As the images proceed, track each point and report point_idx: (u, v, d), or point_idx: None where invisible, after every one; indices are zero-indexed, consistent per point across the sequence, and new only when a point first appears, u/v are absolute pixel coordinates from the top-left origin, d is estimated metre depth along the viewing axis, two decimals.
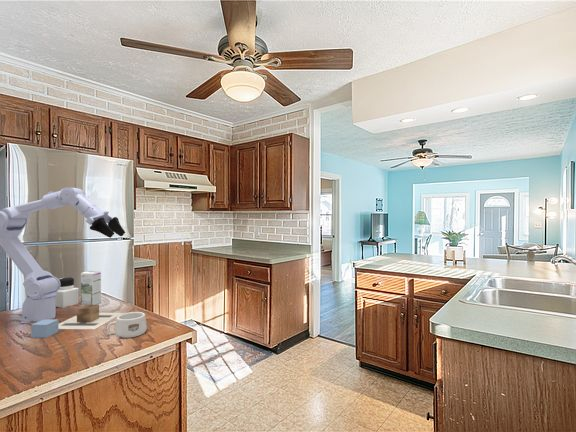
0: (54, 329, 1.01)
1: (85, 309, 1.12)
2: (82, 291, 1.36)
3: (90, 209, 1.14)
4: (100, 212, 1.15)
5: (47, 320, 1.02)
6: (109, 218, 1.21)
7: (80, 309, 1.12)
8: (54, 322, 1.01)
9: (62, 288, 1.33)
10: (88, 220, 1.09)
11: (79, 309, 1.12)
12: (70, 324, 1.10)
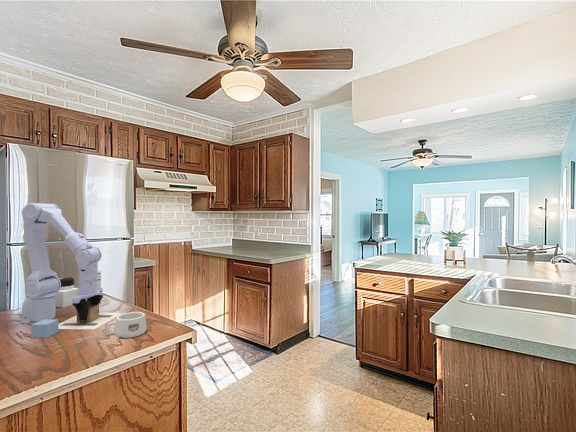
0: (54, 329, 1.01)
1: None
2: None
3: (88, 283, 1.12)
4: (93, 291, 1.13)
5: (47, 320, 1.02)
6: None
7: None
8: (54, 322, 1.01)
9: (62, 288, 1.33)
10: (74, 299, 1.07)
11: None
12: (70, 324, 1.10)
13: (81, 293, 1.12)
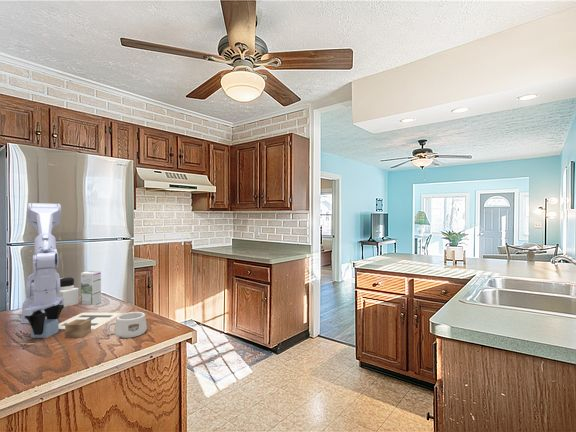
0: (54, 329, 1.01)
1: (75, 325, 0.98)
2: (81, 291, 1.36)
3: (43, 293, 0.98)
4: (50, 301, 0.99)
5: (47, 319, 1.02)
6: None
7: (69, 325, 0.98)
8: (54, 321, 1.01)
9: (62, 288, 1.33)
10: (26, 311, 0.93)
11: (68, 325, 0.98)
12: None
13: (36, 304, 0.98)
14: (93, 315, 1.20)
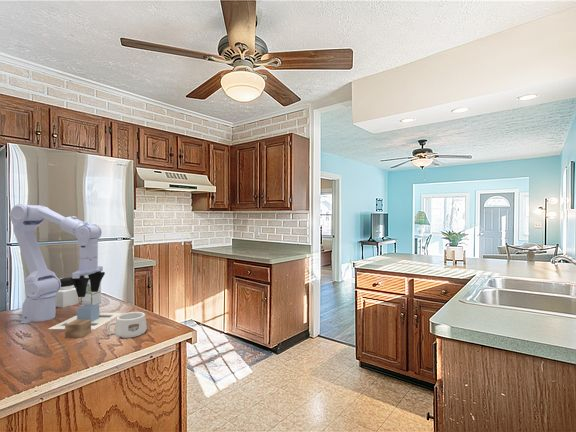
0: (96, 313, 1.15)
1: (74, 325, 0.98)
2: None
3: (88, 260, 1.12)
4: (93, 267, 1.13)
5: (90, 305, 1.16)
6: None
7: (69, 325, 0.98)
8: (96, 306, 1.15)
9: (62, 288, 1.33)
10: (74, 274, 1.07)
11: (68, 325, 0.98)
12: None
13: (81, 269, 1.12)
14: None
